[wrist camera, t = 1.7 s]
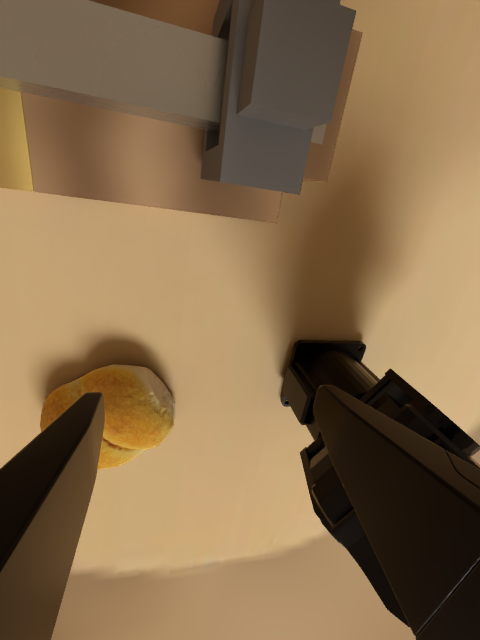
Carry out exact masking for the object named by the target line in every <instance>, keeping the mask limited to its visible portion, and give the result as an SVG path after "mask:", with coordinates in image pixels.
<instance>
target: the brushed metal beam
mask: <svg viewBox="0 0 480 640" xmlns="http://www.w3.org/2000/svg"><path fill="white" fill-rule="evenodd" d="M228 43H229V41H228V40H224V39H221V38H217V37H214V36H210V35H207V34H203V33H200V32H197V31H193V30H190V29H186V28H183V27H179V26H176V25H172V24H169V23H165V22H162V21H158V20H155V19H152V18H148V17H145V16H141V15H138V14H134V13H131V12H127V11H124V10H120V9H117V8H113V7H110V6H107V5H103V4H100V3H96V2H93V1H89V0H0V88H3V89H8V90H13V91H18V92H23V93H28V94H33V95H38V96H43V97H48V98H53V99H57V100H62V101H67V102H72V103H77V104H82V105H87V106H92V107H97V108H102V109H106V110H111V111H116V112H121V113H126V114H131V115H136V116H141V117H146V118H151V119H155V120H160V121H165V122H170V123H175V124H180V125H185V126H190V127H195V128H200V129H205V130H209V131H214V132H219V133H220V124H221V114H222V104H223V94H224V84H225V74H226V63H227V53H228ZM326 125H327V123H326V124H323V125H320V126H316V127H314V129H313V133H312V138H311V142H312V143H317V144H322V143H323V139H324V134H325V130H326Z"/></svg>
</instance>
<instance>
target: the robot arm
mask: <svg viewBox="0 0 480 640" xmlns="http://www.w3.org/2000/svg"><path fill="white" fill-rule="evenodd" d="M302 345H303V346H302ZM300 346H302V347H301V348H299V347H300ZM360 346H361V347H360ZM359 347H360V348H359ZM358 348H359V349H358ZM365 349H366V345H365V344H364V343H363V342H361V341H318V340H299V341H297V342H296V343H295V345H294V348H293V352H292V356H291V360H290V364H289V365H288V366H287V370H286V374H285V378H284V382H283V386H282V391H283V392H282V396H281V403H282V405H283V406H286V407H288V406H291V408H292V410H293V412H294V414H295V415H296V417H297V419H298V421H299V422H300V424H301V425H306V426H307V428H308V430H309V432H310V433H311V435H312V437H313V439H314V442H313V443H312V444H311V445H309V446H308V447H307V448H306V447H305V448H304V449H303V450H302V451H301V452H300V455H301V459H302V463H303V468H304V472H305V476H306V481H307V485H308V489H309V493H310V498H311V501H312V504H313V509H314V512H315V513H316V515H317V516H318V517H319V518H320V520H321V522H322V524H323V525H324V527H326V529H327V530H328V531H329V532H330V533H331V535H332V536H333V537H334V538H335V539H336V540H337V541H338V542H339V543H340V544H342V545H343V546H344V547H345V548H346V549H347V550H348V551H349V553H350V554H351V555H352V557H353V558H354V559H355V561H356V562H357V563H358V565H359V566H360V567H361V569H362V570H363V572H364V573H365V575H366V576H367V578H368V580H369V581H370V583H371V584H372V586H373V587H374V589H375V591H376V592H377V594H378V596H379V597H380V599H381V600H382V602H383V604H384V605H385V607H386V608H387V609H388V610H389V611H390V612H391V613H392V614H393V615H395V616H396V617H397V618H398V619H400V620H401V621H402V622H403V623H405V624H406V625H407V626H408V627H410V628H411V630H412V631H413V634H414V635H415V636H416V640H480V465H479V464H478V463H477V462H476V461H475V460H474V459H473V458H471V456H473V455H474V454H475V453H476V452H477V451H479V450H480V446H479V445H478V444H477V443H476V442H475V441H474V440H473V439H472V438H471V437H469V436H468V435H467V434H466V433H465V432H464V431H463V430H462V429H460V428H459V427H458V426H457V425H456V424H455V423H454V422H453V421H451V420H450V419H449V418H448V417H447V416H446V415H445V414H443V413H442V412H441V411H440V410H439V409H438V408H436V407H435V406H434V405H433V404H432V403H431V402H430V401H428V400H427V399H426V398H425V397H424V396H422V395H421V394H420V393H419V392H418V391H417V390H415V389H414V388H413V387H412V386H411V385H409V384H408V383H407V382H406V381H405V380H404V379H402V378H401V377H400V376H399V375H398V374H396V373H395V372H394V371H393V370H392V369H389V370H388V371H387V372H386V373H385V376H384V377H383V378H382V379H381V380H380V379H379V378H378V377H377V376H376V375H375V374H374V373H372V372H371V371H370V370H369V369H368V368H367V367H366V366H365V365H364V364H363V363H362V362H361V360H362V358H363V355H364V352H365ZM286 400H287V401H286ZM104 423H105V410H104V396H103V393H102V392H87V393H85V394H83V395H82V396H81V397H80V398H79V399H78V400H77V401H76V402H75V403H73V404H72V405H71V406H70V407H69V408H68V409H67V410H66V411H64V412H63V413H62V414H61V415H60V416H59V417H58V418H57V419H56V420H54V421H53V422H52V423H51V424H50V425H49V426H48V427H47V428H45V429H44V430H43V431H42V432H41V433H40V434H39V435H38V436H37V437H35V438H34V439H33V440H32V441H31V442H30V443H29V444H28V445H26V446H25V447H24V448H23V449H22V450H21V451H20V452H19V453H18V454H16V455H15V456H14V457H13V458H12V459H11V460H10V461H9V462H7V463H6V464H5V465H4V466H3V467H2V468H1V469H0V640H51V637H52V634H53V630H54V626H55V623H56V620H57V616H58V612H59V609H60V605H61V602H62V598H63V595H64V591H65V588H66V584H67V580H68V577H69V573H70V570H71V566H72V563H73V559H74V556H75V552H76V548H77V545H78V541H79V538H80V534H81V531H82V527H83V524H84V520H85V516H86V513H87V509H88V506H89V502H90V499H91V495H92V492H93V488H94V484H95V479H96V474H97V468H98V462H99V456H100V449H101V443H102V436H103V430H104Z"/></svg>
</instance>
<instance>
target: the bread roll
mask: <svg viewBox="0 0 480 640" xmlns="http://www.w3.org/2000/svg"><path fill="white" fill-rule="evenodd" d="M87 392H102V393H103V396H104V410H105V423H104V430H103V436H102V443H101V449H100V456H99V462H98V468H97V469H103V468H111V467H117V466H120V465H122V464H124V463H126V462H128V461H130V460H131V459H133V458H134V457H136V456H138V455H139V454H140V453H141V452H143V451H144V450H146V449H150V448H153V447H156V446H158V445H159V444H160V443H161V442H162V441H163V440H164V439H165V438H166V437H167V436H168V434H169V433H170V431H171V430H172V427H173V425H174V419H175V402H174V400H173V398H172V396H171V394H170V393H169V391H168V389H167V388H166V386H165V385H164V383H163V382H162V381H161V380H160V379H159V378H158V377H157V376H156V375H155V373H153V372H152V371H151V370H150V369H148V368H146V367H141V366H130V365H116V364H114V365H108V366H105V367H101V368H98V369H95V370H93V371H91V372H89V373H87V374H85V375H84V376H82V377H80V378H78V379H76V380H75V381H72V382H70V383H67V384H64V385H62V386H60V387H58V388H57V389H55V390H54V391H53V392H51V393H50V394H49V396H48V397H47V399H46V400H45V402H44V405H43V409H42V414H41V422H40V427H41V432H42V431H43V430H44V429H45V428H47V427H48V426H49V425H50V424H51V423H52V422H53V421H54V420H56V419H57V418H58V417H59V416H60V415H61V414H62V413H63V412H64V411H66V410H67V409H68V408H69V407H70V406H71V405H72V404H73V403H75V402H76V401H77V400H78V399H79V398H80V397H81V396H82V395H83V394H85V393H87Z"/></svg>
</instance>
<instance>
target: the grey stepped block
mask: <svg viewBox="0 0 480 640" xmlns="http://www.w3.org/2000/svg"><path fill="white" fill-rule="evenodd" d="M355 14H356V10H353V9H350V8H347V7H344V6H342V5H340V0H220V1H219V4H218V7H217V10H216V14H215V17H214V20H213V30H212V36H214V37H217V38H221V39H224V40H228V41H229V43H228V53H227V63H226V74H225V84H224V94H223V104H222V114H221V124H220V133H219V132H214V131H209V130H205V129H204V141H203V153H202V165H201V178H200V179H204V180H210V181H217V182H223V183H229V184H235V185H242V186H248V187H254V188H261V189H267V190H273V191H280V192H286V193H293V194H299V195H300V190H301V186H302V181H303V176H304V171H305V167H306V162H307V157H308V152H309V148H310V143H311V138H312V133H313V129H314V127H316V126H320V125H323V124H326V123H329V122H331V119H332V115H333V110H334V106H335V101H336V97H337V93H338V88H339V84H340V80H341V75H342V71H343V67H344V62H345V58H346V53H347V49H348V45H349V40H350V36H351V32H352V27H353V23H354V18H355Z"/></svg>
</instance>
